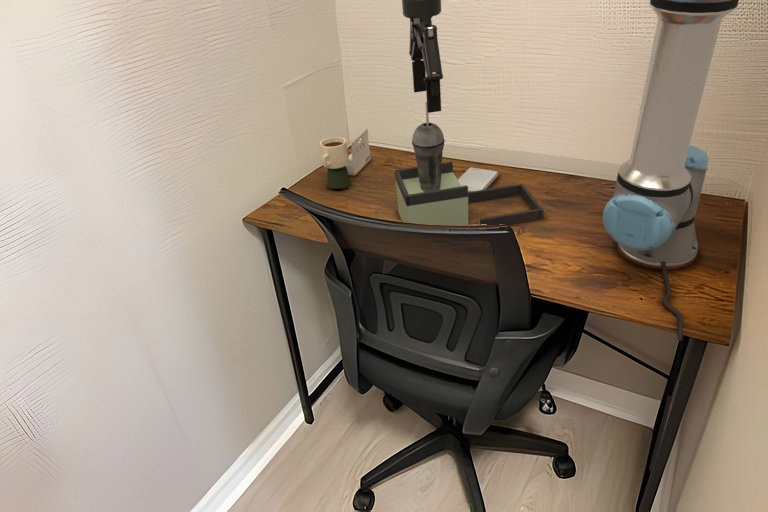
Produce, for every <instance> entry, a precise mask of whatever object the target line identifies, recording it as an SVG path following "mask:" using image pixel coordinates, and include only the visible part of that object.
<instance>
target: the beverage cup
mask: <svg viewBox="0 0 768 512" xmlns="http://www.w3.org/2000/svg"><path fill="white" fill-rule="evenodd" d="M429 120H430V119H429V113H428V112H427V101H425V122H424V123H421V124H420V125H418V126H417V127H416V128H415V130H414V132H413V134H412V140H411V144H412V148H413V151H414V155H415V161H416V167H417V168H418V175H419V181H420V186H421V190H422V191H424V192H428V191H434V190H439V189H440V184H441V171H442V163H443V151H444V148H445V136H444V132H443V131H442V129H441V127H439V126H438V125H437V124H436V123H433V122H430V121H429Z"/></svg>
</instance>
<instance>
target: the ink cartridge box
mask: <svg viewBox="0 0 768 512" xmlns="http://www.w3.org/2000/svg"><path fill="white" fill-rule="evenodd" d="M360 139H361V140H360ZM359 140H360V142H359ZM370 149H371V148H370V143H369V130H368V128H366V129H365V130H364V131H363V132H362V133H361V134H359V136H357V138H356V139H354V141H353V142H351V143H350V150H351V153H350V154H348V159H349V163H348V164H347V165H346V168H347V171H348V175H349V176H353V177H354V176H356V175H357V174H358V173H359V172H360V171H361V170H362V169H363V168H364V167H365V166H366V165H367V164H368V163H369V162H370V161H371V160H372V156H371V150H370Z"/></svg>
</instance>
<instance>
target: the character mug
mask: <svg viewBox="0 0 768 512" xmlns="http://www.w3.org/2000/svg"><path fill="white" fill-rule="evenodd" d="M347 144H348V143H347V139H346V138H344V137H341V136H331V137H330V136H329V137H326V138H324V139H322V140H320V142H319V150H320V152H319V153H320V155H321V160H322V161H321V163H322V166H323V168H327V170H326V181H327V182H326V183H327V187H328V188H329V189H335V190H340V189H346V188H348V187H350V185H351V179H350V175H348V171H347V164H348V163H349V159H348V156H349V153H348V145H347Z"/></svg>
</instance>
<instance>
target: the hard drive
mask: <svg viewBox="0 0 768 512" xmlns="http://www.w3.org/2000/svg"><path fill="white" fill-rule="evenodd" d="M498 177H499V172H498V171H496V170H491V169H484V168H479V167H472V166H471V167H469V168H468V169H467V170H466V171H465V172H464V173H463V174H461V176H460V177H459V178H457V180H458V181H459V183H460V185H461V186H468V192H472V191H479V190H485V189H489V187H490V186H491V185H492V184H493V182H494V181H495V180H496V179H497V178H498Z"/></svg>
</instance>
